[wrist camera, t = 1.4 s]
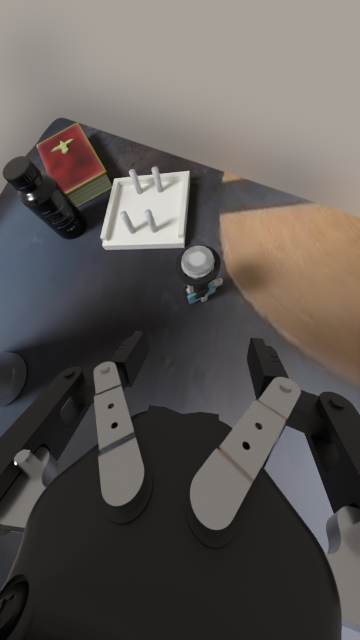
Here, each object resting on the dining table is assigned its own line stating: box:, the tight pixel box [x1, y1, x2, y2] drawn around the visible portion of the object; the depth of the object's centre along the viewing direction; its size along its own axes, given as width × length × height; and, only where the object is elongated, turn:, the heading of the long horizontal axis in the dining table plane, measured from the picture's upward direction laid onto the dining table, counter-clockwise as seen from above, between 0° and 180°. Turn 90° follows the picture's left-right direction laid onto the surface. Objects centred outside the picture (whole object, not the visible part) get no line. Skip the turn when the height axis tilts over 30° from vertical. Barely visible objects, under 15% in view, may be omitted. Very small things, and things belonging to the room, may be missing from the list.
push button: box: [176, 245, 223, 304], centre depth 25 cm, size 7×5×10 cm
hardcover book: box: [37, 122, 112, 207], centre depth 41 cm, size 12×21×4 cm, turn 28°
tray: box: [100, 167, 190, 250], centre depth 33 cm, size 16×16×5 cm
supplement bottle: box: [3, 156, 86, 239], centre depth 32 cm, size 7×7×12 cm
